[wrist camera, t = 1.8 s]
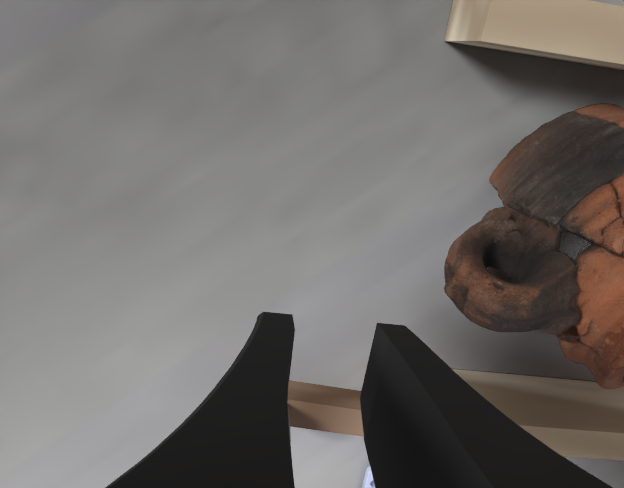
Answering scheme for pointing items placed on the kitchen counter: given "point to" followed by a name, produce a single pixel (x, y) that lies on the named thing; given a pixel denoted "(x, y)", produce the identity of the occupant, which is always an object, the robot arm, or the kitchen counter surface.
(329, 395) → the crank handle
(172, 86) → the kitchen counter surface
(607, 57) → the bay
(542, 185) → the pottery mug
